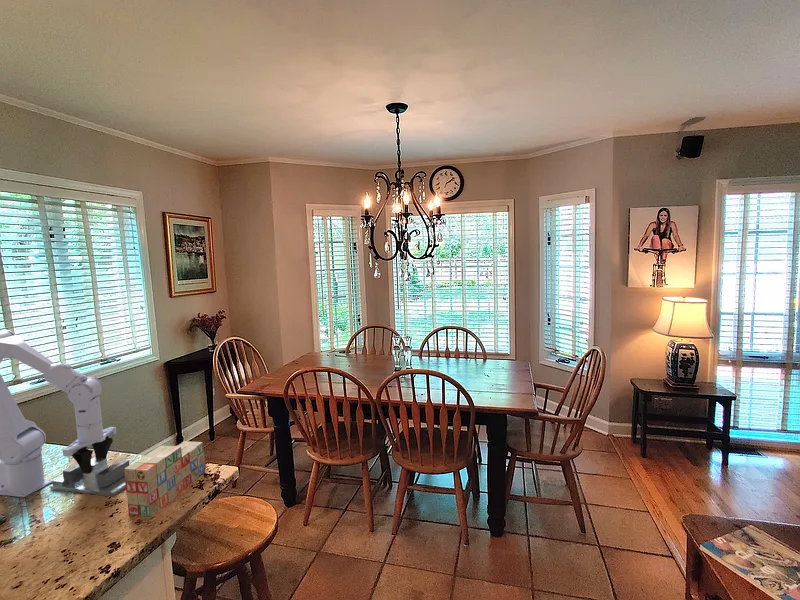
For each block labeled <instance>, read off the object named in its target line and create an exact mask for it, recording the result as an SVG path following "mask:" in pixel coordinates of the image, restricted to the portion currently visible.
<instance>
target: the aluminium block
mask: <svg viewBox="0 0 800 600" xmlns="http://www.w3.org/2000/svg"><path fill="white" fill-rule="evenodd" d="M93 457H94V456H93ZM108 467H109V466H108V459H107V457H106V458H97V457H94V458H93V459H91V473H89V474H84V473H83V481H85V482H95V483H96V482H97V474H98V473H99V472H101V471H103V470H105V469H106V468H108Z"/></svg>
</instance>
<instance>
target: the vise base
mask: <svg viewBox="0 0 800 600" xmlns="http://www.w3.org/2000/svg"><path fill="white" fill-rule="evenodd" d="M93 458H94V456H93V457H91V459H93ZM52 480H53V481H52V485H50V486H49V488H50V490H51V491H59V490H60V491H61V492H69V491H74V492H73V493H78V492H79V494H80V493H81V494H89V495H99V496H106V497H114V496H117V495H118V494H119V493H120V492H122V491H124V490H126V484H125V481H126V479H125V475H124V476H123V477H121V478H120V479H118V480H116V481H115V482H113V483H112V484H110V485H108V486H107V487H99V486H98V483H97V482H96V483H95V482H85V481H83V473H82V470H81V468H80V466H79V464H78V463H77V462H76V463H75V464H73V465H71V466H70V467H68V468H66V469H64V470H62V475H61V476H59V477H56V478H55V479H52Z"/></svg>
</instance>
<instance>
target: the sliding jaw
mask: <svg viewBox="0 0 800 600" xmlns="http://www.w3.org/2000/svg"><path fill="white" fill-rule="evenodd" d="M129 465H130V460H129V459H121V460H119V461H117V462H115V463H114V464H112V465H110V466H108V468H106V469H105V470H103V471H101V472H99V473H98V474H97V483H98V486H99V487H107V486H108V485H110V484H112V483H113V482H115V481H116V480H118V479H120V478H121V477H123V476H124V475H125V468H126V467H128V466H129Z"/></svg>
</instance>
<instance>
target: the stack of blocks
mask: <svg viewBox="0 0 800 600" xmlns="http://www.w3.org/2000/svg"><path fill="white" fill-rule="evenodd" d="M204 472H205V473H206V459H205V452H204V442H202V441H186V440H184V441H182V442H181V443H179V444H178V445H159V446H158V447H156V448H155V449H153V450H152V451H150V452H149V453H146V454H145V455H144V456H142V457H141V458H139V459H138V460H136V461H135V462H132V463H131V464H129V466H128V467H126V468H125V479H126V481H125V484H126V488H125V491H126V499H127V509H128V510H127V512H128V515H129V516H138V517H139V516H140V517H148V518H150V517H152V516H154V515H155V514H156V513H158V511H161V510H162V509H163V508H164V507H166V505H168V503H170V502H171V501H173V500H174V499H175V498H176V497H177V496H178V495H179V494H181V493H182V492H183V491H184V490H185V489H186V488H188V485H189V484H190V485H191V484H192V483H193V482H195V481H196V480H197V479H199V478H200V477H201V476H202V475H204V474H205V473H204ZM201 474H202V475H201ZM200 475H201V476H200ZM199 476H200V477H199ZM190 485H189V486H190Z"/></svg>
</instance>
